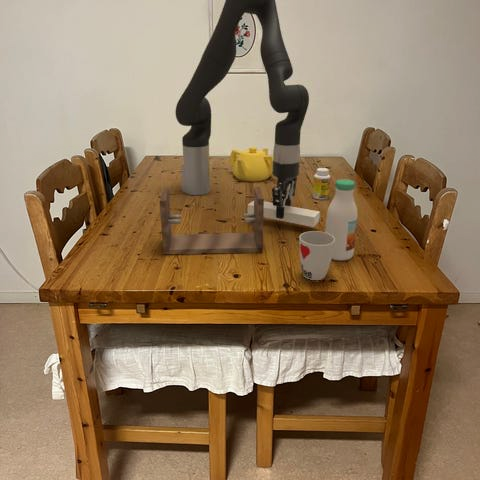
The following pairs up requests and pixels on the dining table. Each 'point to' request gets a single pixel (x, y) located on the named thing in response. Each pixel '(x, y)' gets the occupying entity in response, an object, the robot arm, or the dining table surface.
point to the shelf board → (289, 214)
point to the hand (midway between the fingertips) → (283, 214)
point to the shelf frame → (214, 240)
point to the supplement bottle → (321, 184)
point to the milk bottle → (342, 220)
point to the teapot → (251, 164)
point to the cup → (315, 253)
